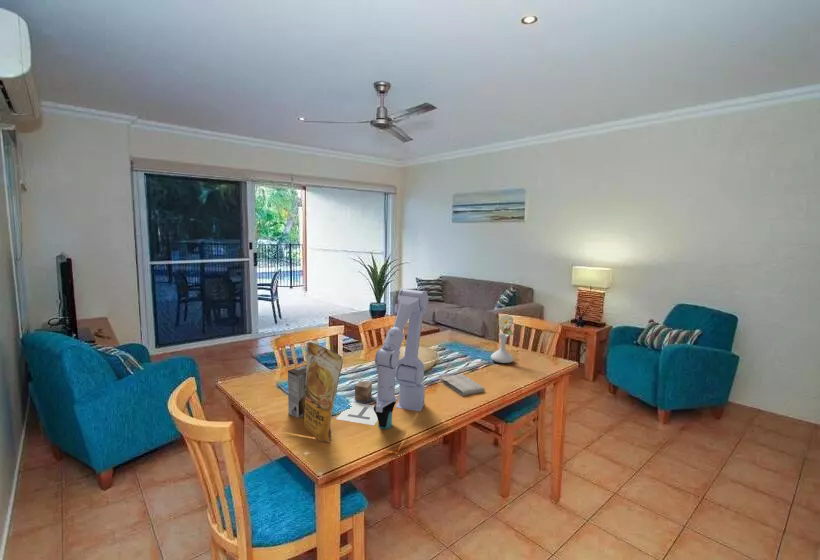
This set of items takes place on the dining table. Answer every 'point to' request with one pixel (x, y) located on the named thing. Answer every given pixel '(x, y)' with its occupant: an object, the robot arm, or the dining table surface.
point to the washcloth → (462, 384)
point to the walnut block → (363, 390)
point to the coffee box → (297, 391)
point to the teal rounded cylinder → (388, 422)
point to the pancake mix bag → (320, 389)
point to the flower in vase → (503, 341)
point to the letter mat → (359, 414)
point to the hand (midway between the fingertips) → (385, 423)
